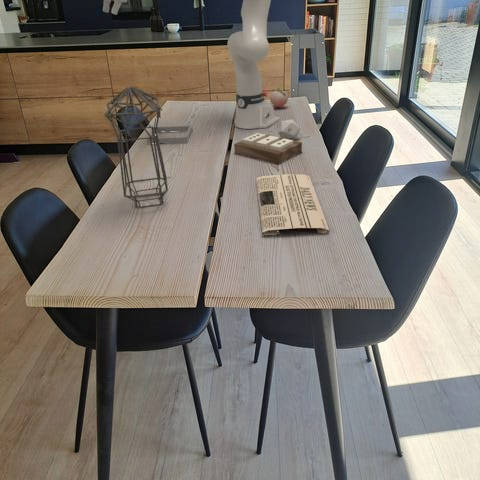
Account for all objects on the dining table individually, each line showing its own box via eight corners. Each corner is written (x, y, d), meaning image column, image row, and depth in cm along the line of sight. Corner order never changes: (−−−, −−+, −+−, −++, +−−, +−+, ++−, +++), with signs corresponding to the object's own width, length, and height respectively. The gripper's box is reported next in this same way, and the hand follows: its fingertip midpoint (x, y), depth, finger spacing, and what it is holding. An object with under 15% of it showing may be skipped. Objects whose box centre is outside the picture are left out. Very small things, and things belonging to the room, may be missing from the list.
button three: (257, 140, 183) (257, 132, 181) (266, 142, 180) (265, 134, 178) (243, 146, 177) (242, 138, 175) (251, 148, 174) (251, 140, 173)
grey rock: (273, 141, 190) (279, 127, 181) (279, 126, 193) (285, 111, 185) (292, 148, 190) (298, 134, 181) (297, 133, 194) (303, 118, 185)
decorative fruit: (266, 109, 233) (266, 88, 228) (275, 105, 238) (275, 85, 233) (281, 111, 227) (281, 90, 222) (290, 107, 233) (290, 87, 227)
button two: (283, 146, 175) (283, 138, 173) (293, 148, 173) (293, 140, 171) (269, 152, 169) (269, 144, 168) (279, 155, 167) (279, 146, 165)
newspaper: (256, 183, 153) (256, 175, 151) (314, 180, 152) (314, 172, 151) (262, 238, 121) (262, 229, 119) (335, 235, 120) (336, 226, 119)
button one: (270, 143, 179) (270, 135, 177) (279, 145, 176) (279, 137, 175) (256, 149, 173) (255, 141, 171) (265, 151, 171) (265, 143, 169)
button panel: (258, 143, 187) (258, 133, 185) (301, 152, 175) (301, 142, 173) (234, 153, 177) (234, 143, 175) (278, 164, 165) (278, 153, 163)
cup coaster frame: (155, 132, 207) (154, 126, 206) (192, 130, 206) (192, 125, 205) (147, 144, 192) (146, 138, 191) (187, 143, 191) (186, 137, 190)
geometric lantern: (123, 215, 136) (99, 95, 118) (124, 193, 149) (103, 83, 131) (175, 208, 138) (160, 90, 120) (172, 188, 151) (157, 78, 134)
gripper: (139, -24, 153) (127, 18, 157) (118, -25, 168) (109, 14, 172) (121, -33, 149) (110, 11, 153) (102, -33, 164) (92, 7, 168)
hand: (109, 12), depth 163 cm, fingers open, 8 cm apart
